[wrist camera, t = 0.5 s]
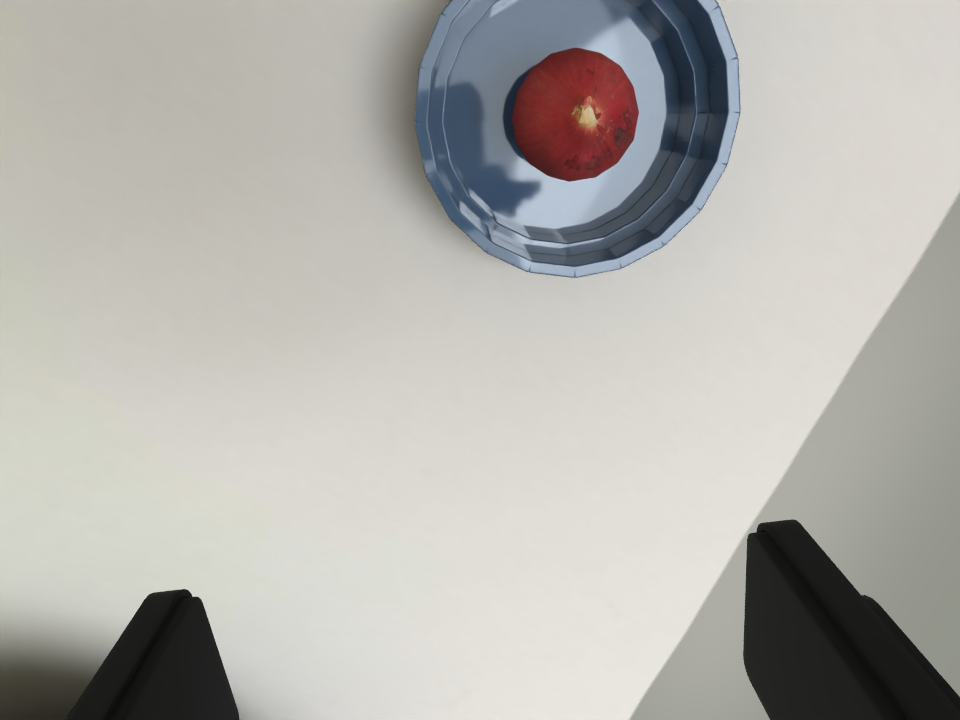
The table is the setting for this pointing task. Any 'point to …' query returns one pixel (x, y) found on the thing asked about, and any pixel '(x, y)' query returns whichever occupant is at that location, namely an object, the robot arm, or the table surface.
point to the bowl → (614, 193)
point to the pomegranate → (575, 114)
